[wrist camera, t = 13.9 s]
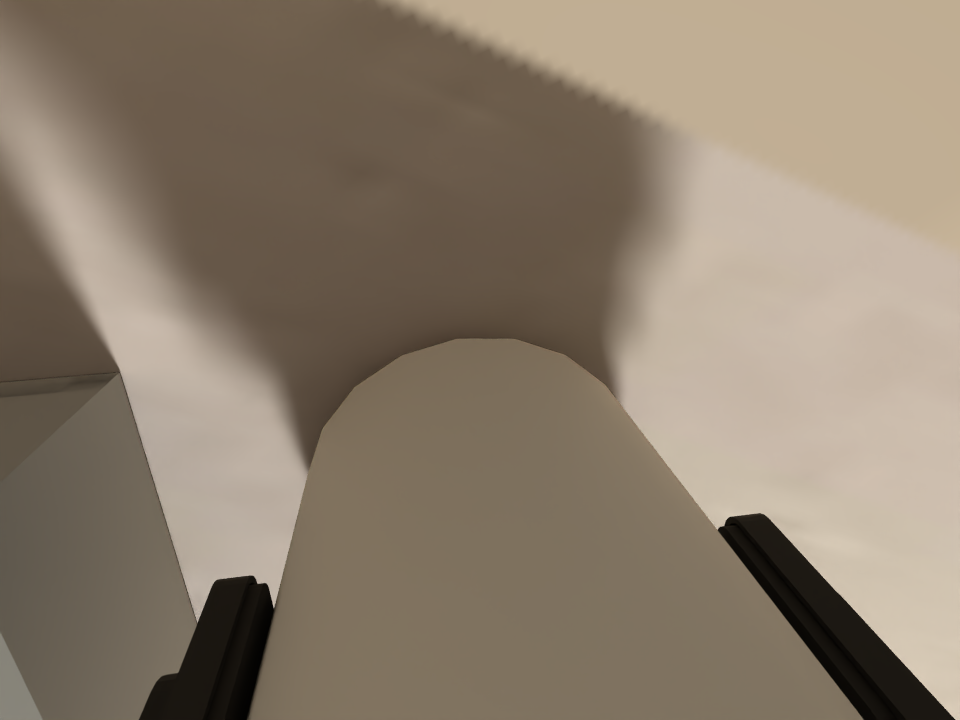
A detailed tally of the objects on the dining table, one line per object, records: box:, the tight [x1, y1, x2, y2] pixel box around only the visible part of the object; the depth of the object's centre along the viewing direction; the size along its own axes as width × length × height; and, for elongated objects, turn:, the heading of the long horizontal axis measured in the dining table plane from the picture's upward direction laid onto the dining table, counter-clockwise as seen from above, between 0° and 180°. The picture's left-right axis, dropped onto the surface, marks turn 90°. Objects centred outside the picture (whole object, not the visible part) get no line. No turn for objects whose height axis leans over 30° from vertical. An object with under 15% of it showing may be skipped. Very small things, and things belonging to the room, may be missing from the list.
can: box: [247, 339, 864, 720], centre depth 9 cm, size 8×8×12 cm
